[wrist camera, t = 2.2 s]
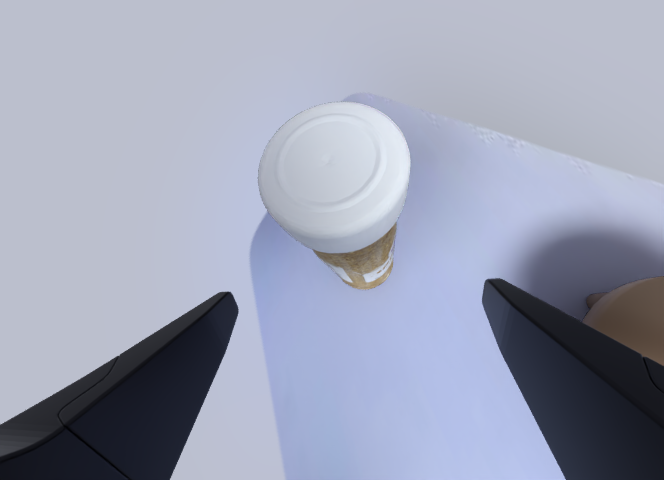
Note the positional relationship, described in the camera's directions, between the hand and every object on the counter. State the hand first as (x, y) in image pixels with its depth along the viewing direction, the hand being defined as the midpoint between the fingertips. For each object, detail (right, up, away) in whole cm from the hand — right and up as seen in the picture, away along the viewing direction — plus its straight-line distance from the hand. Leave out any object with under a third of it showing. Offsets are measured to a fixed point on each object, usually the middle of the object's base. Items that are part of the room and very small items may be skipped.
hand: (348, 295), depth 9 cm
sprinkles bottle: (+2, 0, +11) cm, 11 cm away
